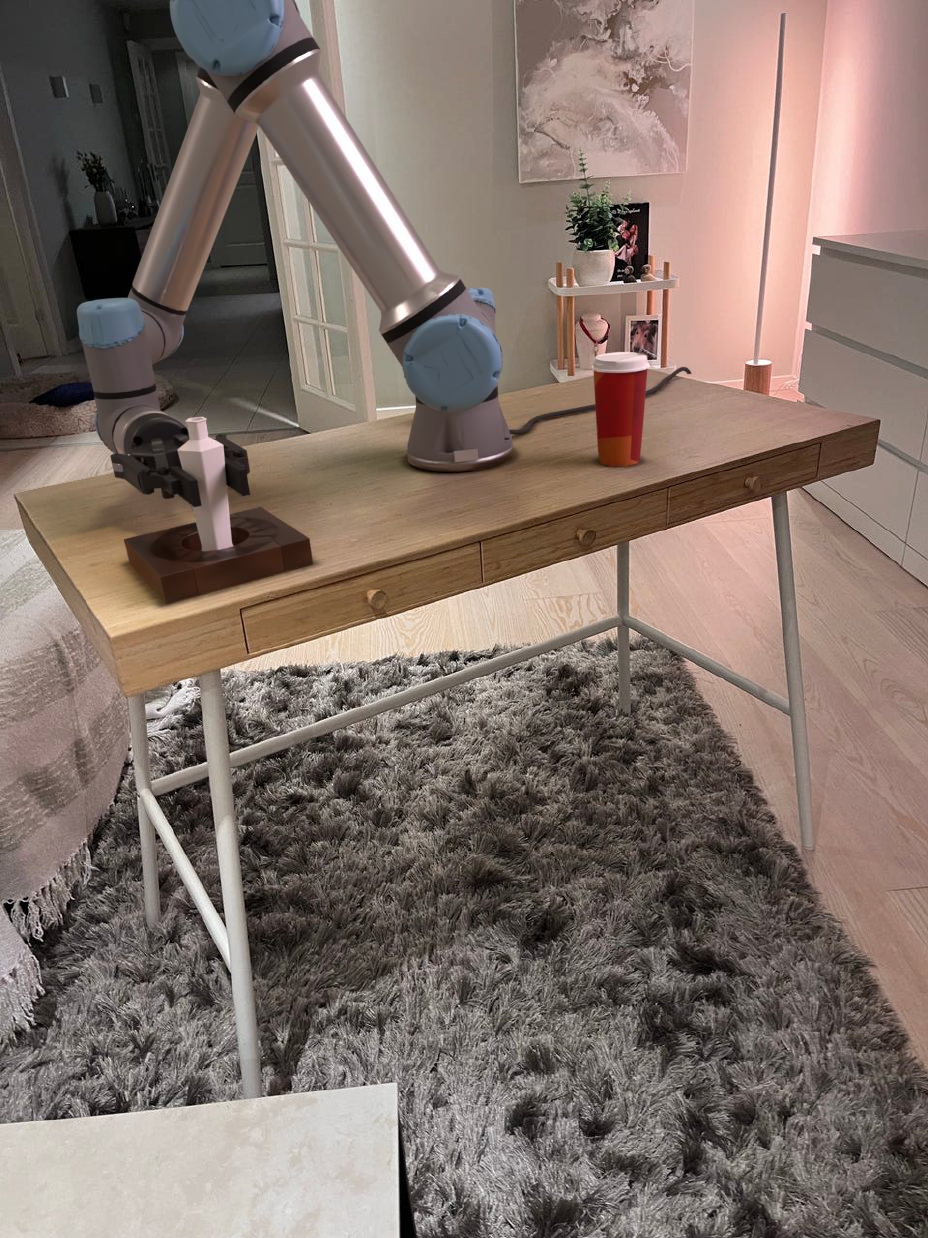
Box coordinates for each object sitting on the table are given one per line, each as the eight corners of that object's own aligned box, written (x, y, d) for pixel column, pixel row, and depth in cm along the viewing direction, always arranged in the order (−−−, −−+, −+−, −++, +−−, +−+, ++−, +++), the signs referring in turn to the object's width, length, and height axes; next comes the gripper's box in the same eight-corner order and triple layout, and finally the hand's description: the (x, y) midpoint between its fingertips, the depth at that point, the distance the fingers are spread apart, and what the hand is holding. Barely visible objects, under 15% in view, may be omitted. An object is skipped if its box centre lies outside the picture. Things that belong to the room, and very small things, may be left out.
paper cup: (628, 449, 133) (630, 348, 127) (658, 462, 127) (661, 356, 121) (580, 458, 131) (579, 355, 125) (608, 472, 124) (609, 364, 118)
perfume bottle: (222, 545, 105) (200, 411, 98) (247, 553, 102) (226, 416, 96) (188, 558, 102) (163, 421, 95) (213, 566, 99) (188, 426, 93)
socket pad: (264, 530, 112) (260, 506, 110) (313, 564, 101) (309, 538, 99) (129, 564, 104) (123, 538, 103) (166, 604, 93) (160, 576, 92)
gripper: (229, 460, 118) (305, 504, 100) (86, 489, 110) (140, 543, 91) (219, 400, 114) (296, 435, 96) (71, 425, 106) (124, 469, 88)
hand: (220, 487), depth 94 cm, fingers closed on perfume bottle, 4 cm apart
